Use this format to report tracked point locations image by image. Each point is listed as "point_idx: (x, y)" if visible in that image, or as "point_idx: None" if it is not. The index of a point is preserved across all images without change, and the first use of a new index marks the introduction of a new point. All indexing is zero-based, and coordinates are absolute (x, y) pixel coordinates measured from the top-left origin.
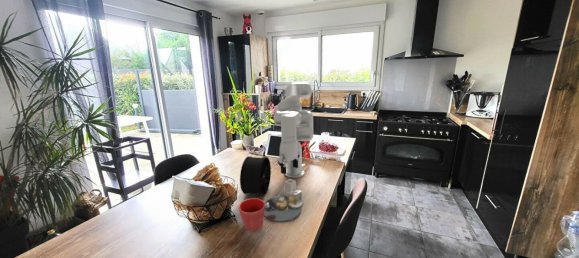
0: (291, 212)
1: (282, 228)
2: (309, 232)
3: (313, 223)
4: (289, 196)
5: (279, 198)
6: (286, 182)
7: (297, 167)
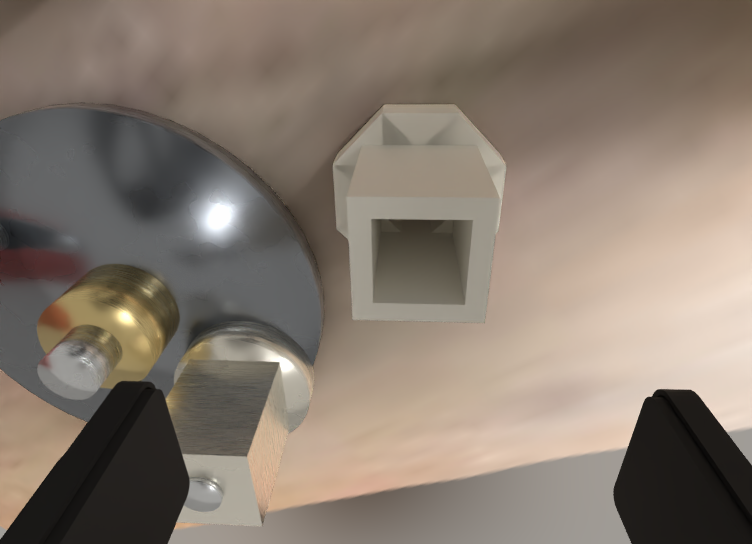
0: None
1: (25, 413)
2: None
3: None
4: None
5: (43, 371)
6: (349, 241)
7: (626, 515)
